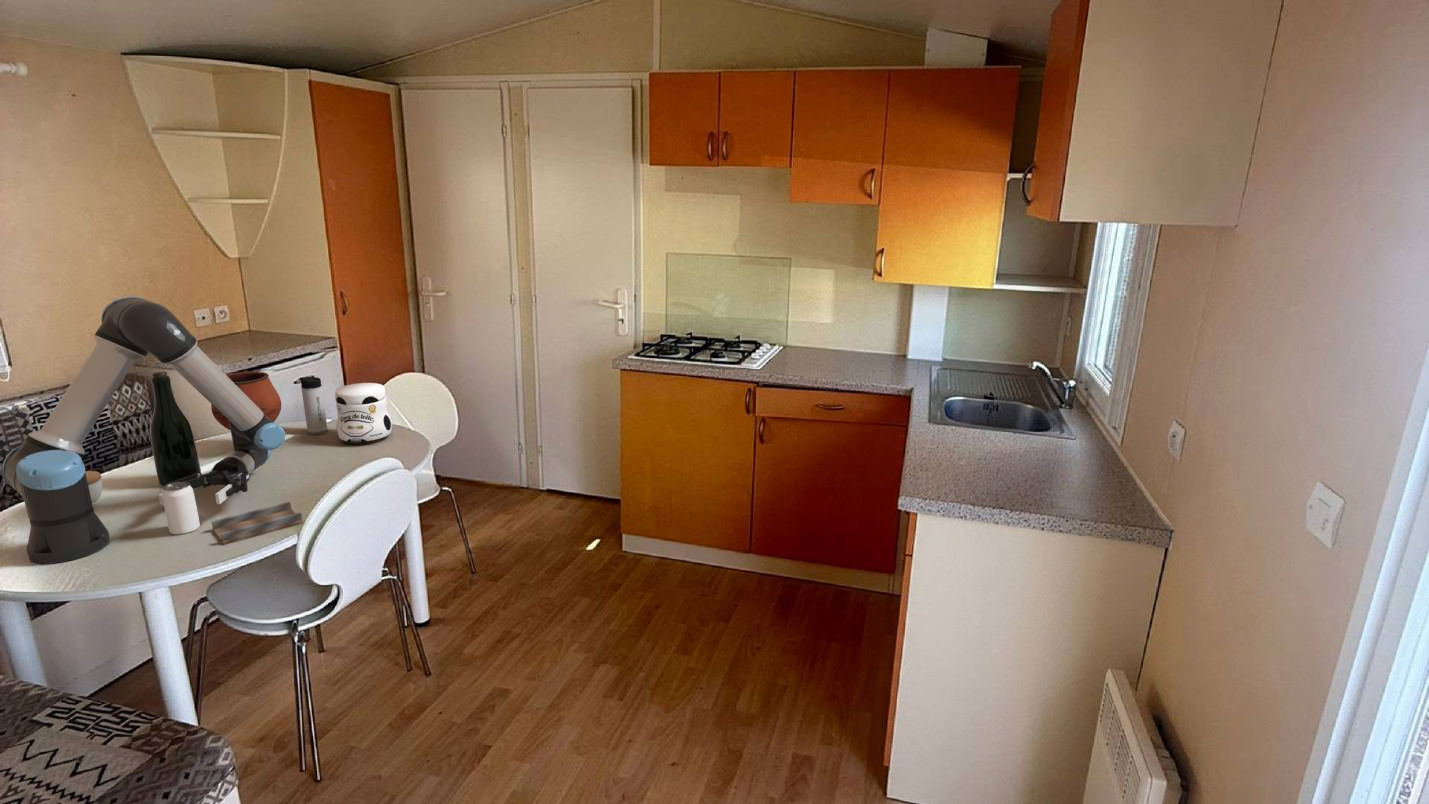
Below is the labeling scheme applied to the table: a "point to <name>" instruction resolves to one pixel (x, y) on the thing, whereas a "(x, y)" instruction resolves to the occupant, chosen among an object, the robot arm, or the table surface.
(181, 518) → the can
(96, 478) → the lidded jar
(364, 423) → the milk container
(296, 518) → the track
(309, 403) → the travel mug
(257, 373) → the goblet
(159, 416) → the dark green bottle
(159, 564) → the table surface
